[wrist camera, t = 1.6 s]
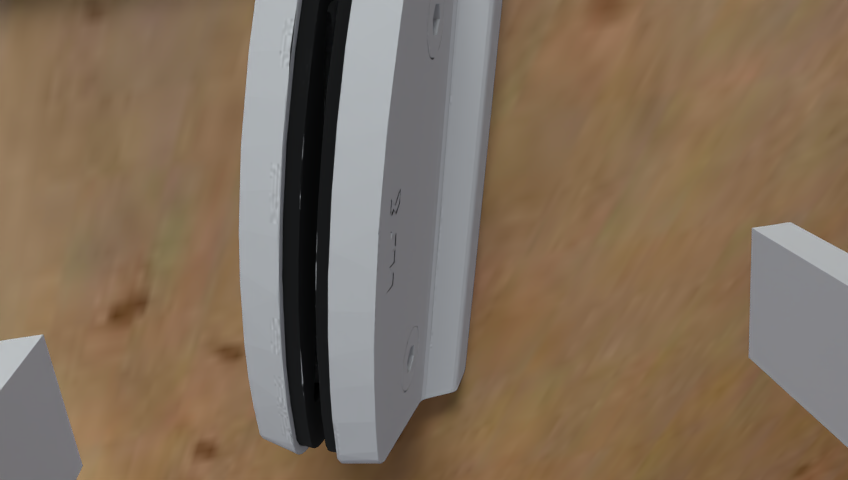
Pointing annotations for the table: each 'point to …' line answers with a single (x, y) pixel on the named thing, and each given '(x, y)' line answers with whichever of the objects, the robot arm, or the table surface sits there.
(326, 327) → the grey arched slotted casing
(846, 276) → the robot arm
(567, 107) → the table surface
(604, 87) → the table surface
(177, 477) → the table surface
